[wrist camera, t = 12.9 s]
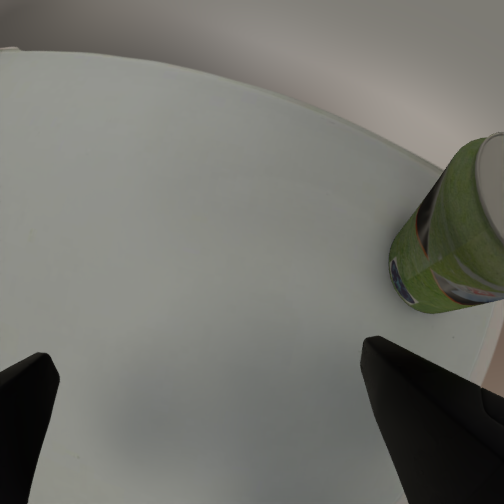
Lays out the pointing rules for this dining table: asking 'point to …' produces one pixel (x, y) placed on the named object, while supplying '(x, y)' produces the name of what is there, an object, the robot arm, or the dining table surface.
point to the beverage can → (456, 235)
